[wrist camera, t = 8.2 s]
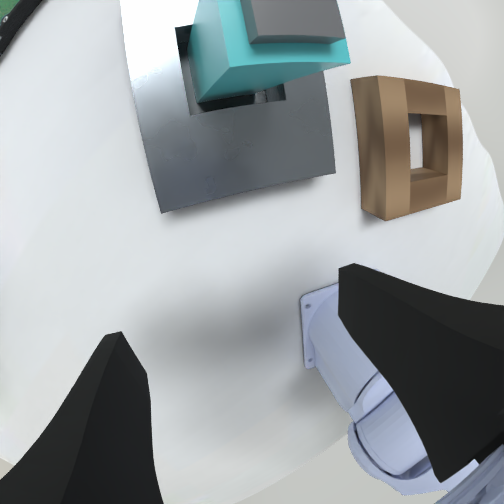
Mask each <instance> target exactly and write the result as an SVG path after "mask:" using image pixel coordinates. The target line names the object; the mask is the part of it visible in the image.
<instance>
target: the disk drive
mask: <svg viewBox="0 0 504 504" xmlns="http://www.w3.org/2000/svg"><path fill="white" fill-rule="evenodd" d="M41 1H42V0H0V56H1V55H2V54H3V52H4V51H5V49H6V47H7V46H8V45H9V43H10V42H11V40H12V38H13V37H14V35H15V34H16V32H17V31H18V30H19V28H20V27H21V26H22V24H23V23H24V22H25V20H26V19H27V18H28V17H29V15H30V14H31V13H32V12H33V10H34V9H35V8H36V7H37V6H38V5H39V3H40V2H41Z"/></svg>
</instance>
